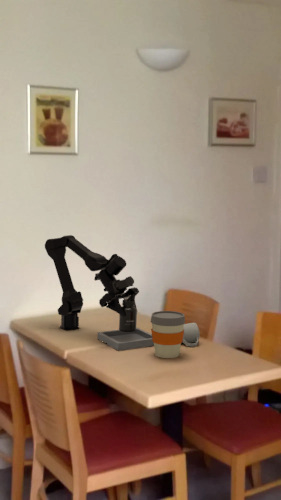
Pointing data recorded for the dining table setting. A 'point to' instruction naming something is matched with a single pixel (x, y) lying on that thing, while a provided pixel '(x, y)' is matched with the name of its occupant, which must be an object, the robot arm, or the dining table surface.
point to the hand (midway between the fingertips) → (130, 314)
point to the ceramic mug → (191, 334)
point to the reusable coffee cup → (167, 333)
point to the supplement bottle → (128, 316)
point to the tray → (126, 339)
